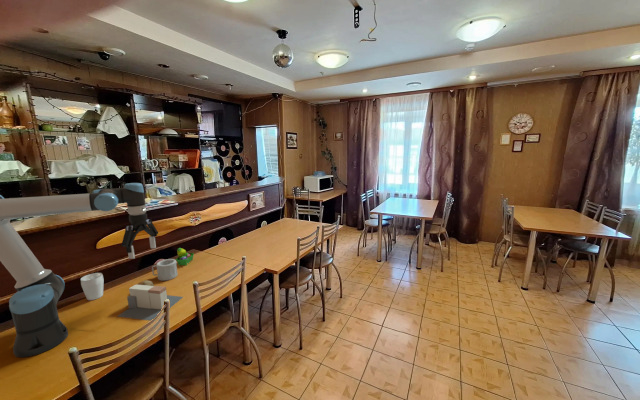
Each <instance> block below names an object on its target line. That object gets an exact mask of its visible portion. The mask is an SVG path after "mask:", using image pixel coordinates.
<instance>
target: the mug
mask: <svg viewBox="0 0 640 400" xmlns="http://www.w3.org/2000/svg"><path fill="white" fill-rule="evenodd" d="M155 267H156V270H157V274H155V271H154V268H155ZM151 272H152V275H153V276H155V277H156V276H157V279H158V280H159V281H161V282H162V281H163V282H165V281H170V280H173V279H175V278H176V277H177V276H178V268H177V261H176V259H175V258H168V259H163V260H160V261H158V262H157V263H156V265H153V266H151Z"/></svg>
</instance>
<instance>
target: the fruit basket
mask: <svg viewBox="0 0 640 400" xmlns="http://www.w3.org/2000/svg"><path fill="white" fill-rule="evenodd" d="M194 255H195V253H194V252H187V251H186V249H184V248H181V247H179V248H177V256H178V257H177V258H176V259H175V260H176V263H177V264H178V266H187V265H188V264H190V263H191V262H192V261H193V259H194ZM191 260H192V261H191ZM190 261H191V262H190ZM189 262H190V263H189ZM187 263H188V264H187Z"/></svg>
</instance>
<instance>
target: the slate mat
mask: <svg viewBox="0 0 640 400" xmlns="http://www.w3.org/2000/svg"><path fill="white" fill-rule="evenodd" d="M183 298H184V296H178V295H168V294H167V299H169V300H170V308H169V309H171V308H172V307H173V306H175V304H177V303H178V302H180V301H181V300H182V299H183ZM160 311H161V309H153V308H151V309H150V308H141V307H137V308H136V309H135V308H129V307H128V309H126V310H124V311H123V312H121V313H120V314H118V315H117V316H116V317H117V318H118V317H119V318H127V319H136V320H141V321H142V320H143V321H149V322H150V321H151V320H152V319H154V318H155V317H156V316H157V314H158V313H159V312H160ZM151 322H152V321H151Z"/></svg>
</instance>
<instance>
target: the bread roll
mask: <svg viewBox="0 0 640 400" xmlns="http://www.w3.org/2000/svg"><path fill="white" fill-rule="evenodd" d="M137 285H147V286H155V284H154V282H153V281H151V280H142V281H140V282H138V283H137Z"/></svg>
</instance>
